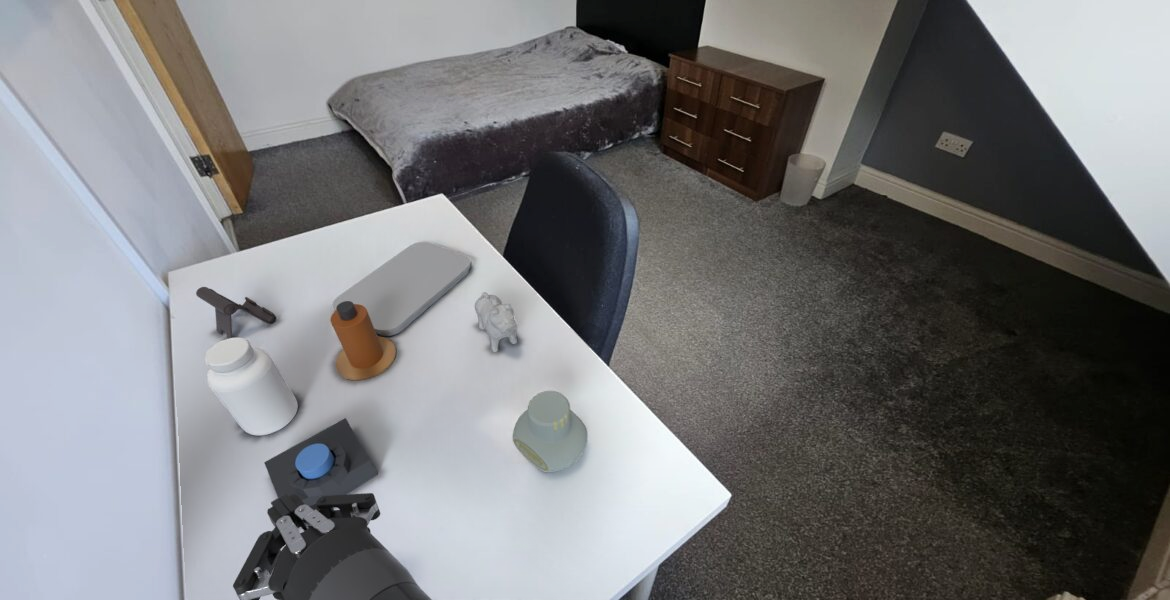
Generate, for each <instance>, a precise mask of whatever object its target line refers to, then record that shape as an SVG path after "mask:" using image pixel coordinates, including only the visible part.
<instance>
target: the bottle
mask: <svg viewBox="0 0 1170 600" xmlns="http://www.w3.org/2000/svg"><path fill="white" fill-rule="evenodd" d="M329 321H330V324H331V326H332V328H333V331H334V333H335V335H336V337H337V338H338V341H339V343H340V345H341V348H342V350H343V349H344V351H345V353H346V356H347V358H348V360H349V362H350V364H351V365H352V366H353V367H355V368H361V369H362V368H368V367H371V366H373V365H375V364H376V363H378V362H379V361H380V360H381V358H382V356H383V350H382V347H381V345H380V342H379V340H378V337H379V336H378V335H377V334H378V333H376V332H375V329H374V327H373V324H372V322H371V319H370V317H369V314H368V311H367V309H366V308H365V307H364V306H362V305H359V304H353V302H351V301H344V302H342V303H340V304H338V305H337V307H336V311H334V312H333V313H332V314H331V316H330V320H329ZM377 336H378V337H377Z"/></svg>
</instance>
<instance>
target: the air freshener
mask: <svg viewBox="0 0 1170 600" xmlns="http://www.w3.org/2000/svg"><path fill="white" fill-rule="evenodd" d="M512 442H513V444H514V446H515V448H516V449H517V450H518V451H519V453H520V454H521V455H522V456H523V457H524V458H525V459H526V460H527V461H528V462H529V463H531V464H532V466H535V467H536V468H537V469H539V470H540V471H542V472H545V473H556V472H559V471H563V470H566V469H567V468H569V467H571V466H572V465H573V464H575V463H576V462H577V461H578V460H579V459H580V458H581V456H582V455H583V453H584V452H585V449H586V448H587V443H588V429H587V425H586V424H585V423H584V421H583V420H582V419H581V417H579V416H578V415H577V414H576V413H575V412H574V411H573V410H572V409H571V405H570V401H569V399H568V398H567V397H566V396H565V395H564V394H562V393H560V392H559V391H555V390H545V391H542V392H539V393H537V394H536V395H534V396H533V397H532V399H530V400H529V401H528V405H527V409H526V410H525V411H523V413H522V414H520V416H519V417H518V419H517V420H516V422H515V424H514V427H513V430H512Z"/></svg>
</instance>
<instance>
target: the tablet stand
mask: <svg viewBox="0 0 1170 600" xmlns="http://www.w3.org/2000/svg"><path fill="white" fill-rule="evenodd" d="M195 295H196V296H197V297H198V298H199V299H200V300H202V301H204V302H205V303H207V304H209V305H210V306H212V307H213V308H214V311H215V325H216V332H217V334H219V335H223V331H224V332H225V334H226V339H229V338H233V321H232V320H233V319H232V315H234V314H235V313H236V312H237V311H239V310H241V311H243V312H245V313H247V314H248V315H250V316H252V317H254V318H256V319H257V320H260V321H261V322H263V323H265V324H267V325H273V324H275V323H276V321H277V319H278V318H277V317H278V316H276V314H274V312H272V311H271V310H270V309H268V308H266V307H263V306H260V305H259V304H258V303H257V302H256V301H254V300H252V299H251V298H249V297H248V296H245V297H244V300H245V302H244V303H243V304H240V303H237V302H235V301H233V300H231V299H229V298H228V297H226V296H225V295H222V294H220V293H218V292H217V291H215V289H212V288H209V287H207V286H201V287H199V288H198V289H197V290H196V292H195Z"/></svg>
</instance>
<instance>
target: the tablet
mask: <svg viewBox="0 0 1170 600" xmlns="http://www.w3.org/2000/svg"><path fill="white" fill-rule="evenodd" d="M471 266H472V260H471V258H470V257H469V256H468V255H466V254H463V253H460V252H459V251H455V250H453V249H450V248H447V247H444V246H440V245H438V244H435V243H432V242H429V241H418V242H414V243H412V244H410V245H409V246H407V247H406V248H404V249H403V250H402V251H400V252H399V253H397V254H396V255H395V256H393V257H392V258H390V259H388V261H386V262H384V263H383V264H381V265H380V266H379V267H377V268H376V269H374V270H373V271H372V272H370V273H368V275H366V276H365V277H364V278H362V279H360V280H359V281H357V282H356V283H354V284H353V285H352V286H351V287H349V288H348V289H346V290H345V291H344V292H342V293H341V294H339V295H338V296H337V297H336V298H334V300H333V301H332V304H331V305H332V309H333V311H334V312H335V311H336V307H337V305H338V304H340V303H342V302H344V301H351V302H353V304H359V305H362V306H364V307H365V308H366V309H367V311H368V314H369V317H370V319H371V322H372V324H373V327H374V329H375V332H376V334H378V335H381V337H383V336H384V337H392V336H395V335H398V334H400V332H402V331H403V330H404V329H405V328H407V327H408V326H409V325H410V324H411V323H413V321H415V320H416V319H417V318H418V317H420V316H421V315H422V314H423V313H424V312H425V311H427V310H428V309H429V307H431V306H432V305H433V304H434V303H436V302H437V301H438V300H440V299H441V297H442V296H444V295H445V294H446V293H447V292H449V291H450V289H452V288H453V287H454V286H455V285H457V284H458V283H459V282H460V281H461V280H462V279H463V278H465V277H466V276H467V275H468V274H469V272H470V268H471Z"/></svg>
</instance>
